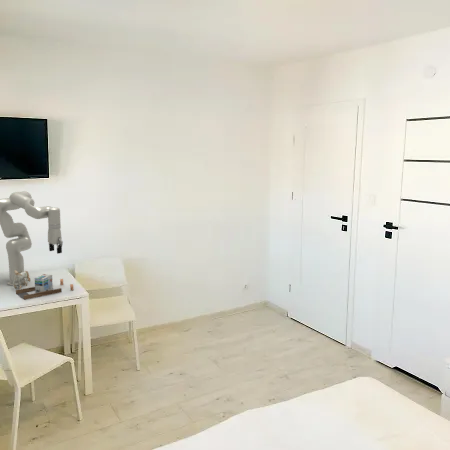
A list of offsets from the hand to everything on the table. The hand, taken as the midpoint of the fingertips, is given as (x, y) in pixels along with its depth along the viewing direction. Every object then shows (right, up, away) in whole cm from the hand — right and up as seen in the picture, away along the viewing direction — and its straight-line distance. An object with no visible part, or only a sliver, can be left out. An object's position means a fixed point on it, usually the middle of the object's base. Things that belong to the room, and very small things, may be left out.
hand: (55, 252), depth 303 cm
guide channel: (-10, -27, -2) cm, 29 cm away
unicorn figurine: (-25, -25, +9) cm, 36 cm away
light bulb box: (-8, -27, +1) cm, 28 cm away
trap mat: (-17, -28, -8) cm, 33 cm away
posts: (+4, -25, +11) cm, 27 cm away
